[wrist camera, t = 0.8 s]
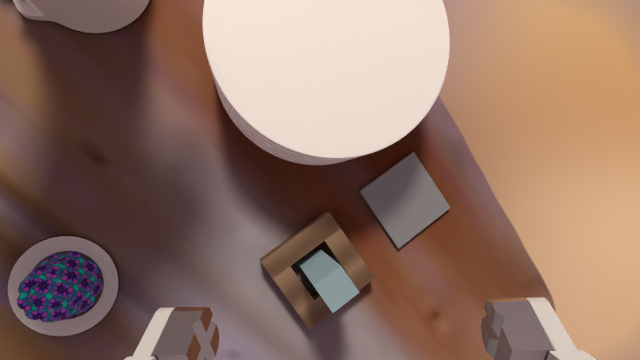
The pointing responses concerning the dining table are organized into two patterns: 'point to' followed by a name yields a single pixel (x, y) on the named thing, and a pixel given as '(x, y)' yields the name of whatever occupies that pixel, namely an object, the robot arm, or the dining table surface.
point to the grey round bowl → (62, 286)
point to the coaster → (404, 199)
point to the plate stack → (326, 72)
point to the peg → (329, 279)
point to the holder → (299, 246)
